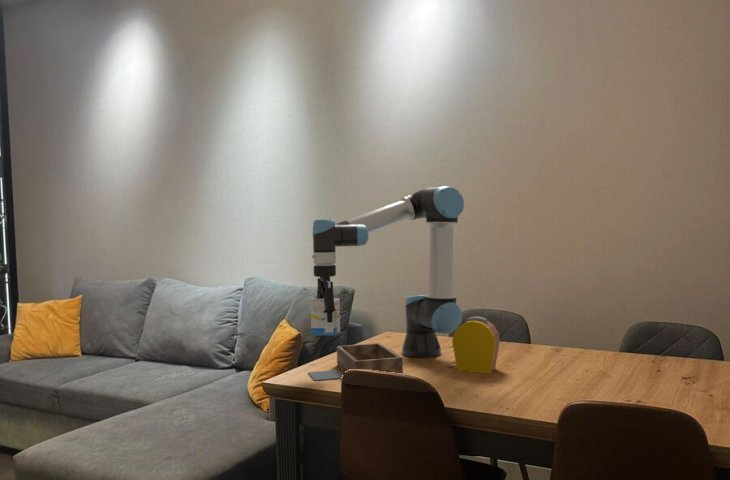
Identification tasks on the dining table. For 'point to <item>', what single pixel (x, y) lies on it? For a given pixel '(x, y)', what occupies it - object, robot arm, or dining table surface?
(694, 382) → the dining table surface
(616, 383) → the dining table surface
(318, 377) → the slate pad
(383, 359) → the walnut frame
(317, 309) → the ink box
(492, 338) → the yellow arched block
